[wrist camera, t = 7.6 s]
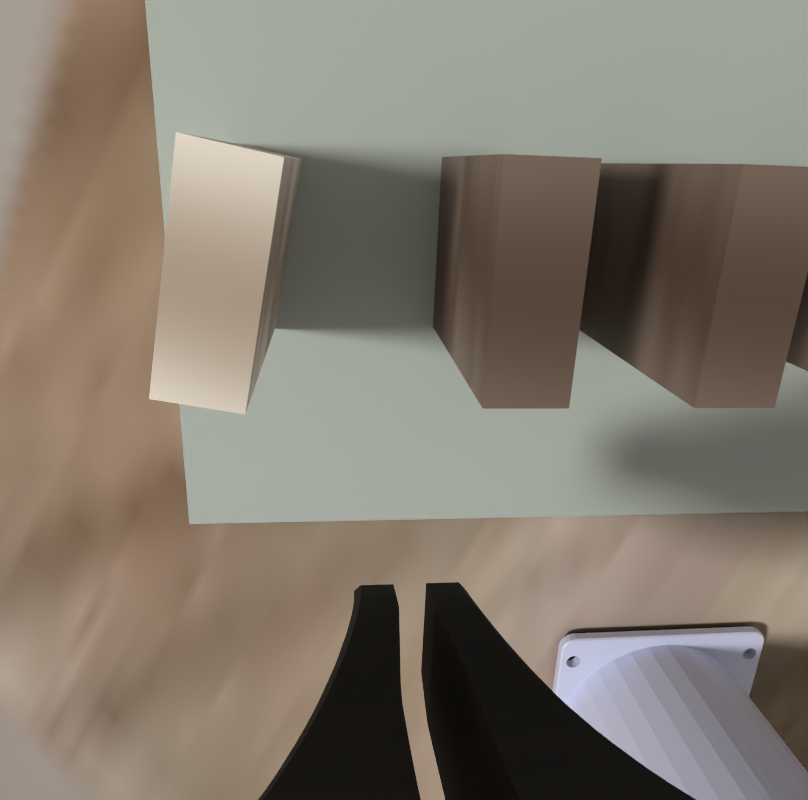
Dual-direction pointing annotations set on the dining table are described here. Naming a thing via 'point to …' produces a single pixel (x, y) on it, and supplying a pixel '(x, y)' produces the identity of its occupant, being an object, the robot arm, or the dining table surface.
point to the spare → (221, 270)
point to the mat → (417, 247)
